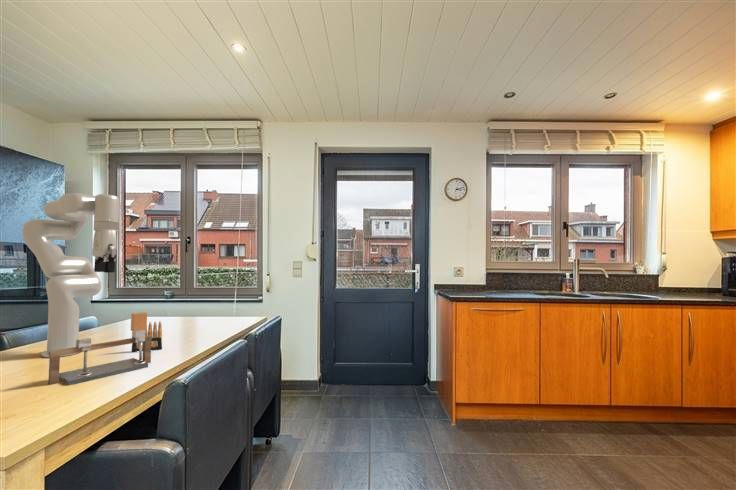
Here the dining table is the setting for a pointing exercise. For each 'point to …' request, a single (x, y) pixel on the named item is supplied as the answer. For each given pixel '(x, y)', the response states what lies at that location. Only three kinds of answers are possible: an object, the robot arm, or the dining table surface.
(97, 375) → the bolt plate
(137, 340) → the sliding leg
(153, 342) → the ammunition clip
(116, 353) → the dining table surface
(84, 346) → the divider frame
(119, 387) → the dining table surface
